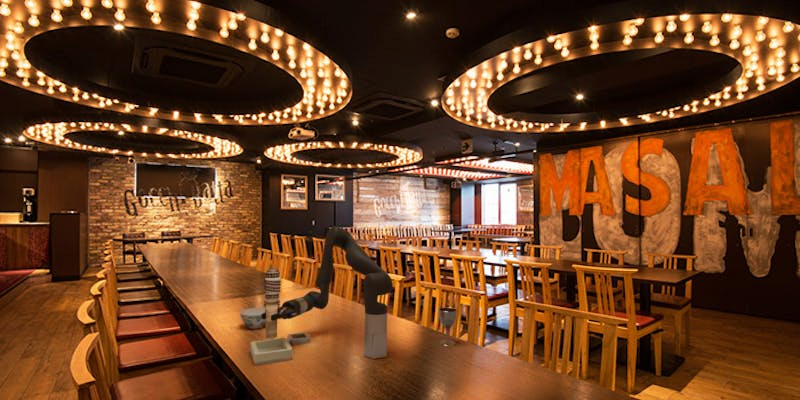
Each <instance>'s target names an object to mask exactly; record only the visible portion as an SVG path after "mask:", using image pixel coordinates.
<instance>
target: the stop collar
mask: <svg viewBox="0 0 800 400" xmlns="http://www.w3.org/2000/svg"><path fill="white" fill-rule="evenodd" d="M286 339H287V341H288V343H289V344H290V345H293V346H295V345H302V344H303V345H304V344H308V343H310V342H311V335H310V334H309V333H308V332H305V331H304V332H296V333H288V335H286Z"/></svg>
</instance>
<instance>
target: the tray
mask: <svg viewBox="0 0 800 400" xmlns="http://www.w3.org/2000/svg"><path fill="white" fill-rule="evenodd" d="M293 351H294V350H293V348H292V346H291V344H289V342H288V341H287V337H280V338H278V337H277V338H272V339H264V340H255V341H250V355H251V358H252V362H253V365H254V366H259V365H260V366H261V365H267V364H271V363H272V364H273V363H280V362H287V361H293V357H294V356H293V354H294V353H293Z"/></svg>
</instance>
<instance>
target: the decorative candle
mask: <svg viewBox="0 0 800 400" xmlns="http://www.w3.org/2000/svg"><path fill="white" fill-rule="evenodd" d="M280 273H281V271H280V270H279V269H278V268H268V269H267V270H266V271H265V279H264V283H263V284H264V285H263V286H264V295H265V298H264V302H263V303H264V304H263V306H264V307H263V308H266V303H265V300H266V299H270V298H277V299H278V307H280V306H281V303H280V302H281V301H280V300H281V299H280V293H281V290H280V289H281V285H282V281H281V277H280V276H281V275H280ZM278 307H277V308H278Z"/></svg>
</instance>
